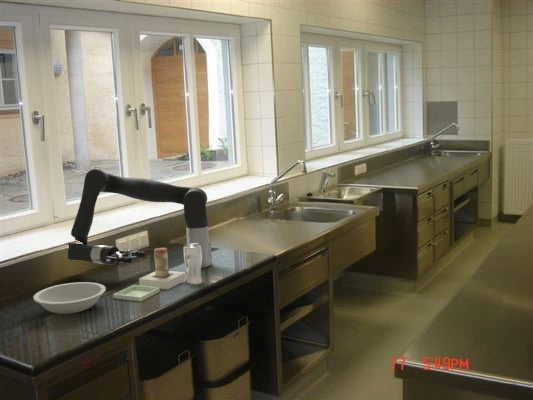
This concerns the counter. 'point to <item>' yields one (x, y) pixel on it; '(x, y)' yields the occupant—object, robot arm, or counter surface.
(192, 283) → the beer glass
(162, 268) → the wooden plug
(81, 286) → the soup bowl
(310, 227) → the counter surface
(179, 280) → the socket block
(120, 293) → the green tray
